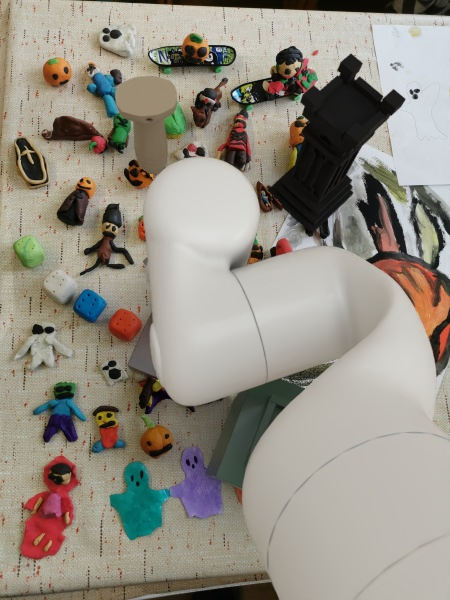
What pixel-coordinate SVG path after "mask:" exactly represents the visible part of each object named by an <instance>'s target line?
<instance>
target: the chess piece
mask: <svg viewBox="0 0 450 600" xmlns="http://www.w3.org/2000/svg"><path fill="white" fill-rule="evenodd" d="M363 65H364V63H363V62H362V61H361V60H360V59H359V58H357V57H356V55H354V54H352V53H349V54H348V55H347V56H346V57H344V59H342V60H341V61H340V63H339V64H338V67H337V72H338V73H339V75H338V74H337V75H336V76H334V78H332V79H331V80H330V81H329V82H328V83H327V84H325V86H323V87H322V88H321V89H319V88H318V87H317V86H315V85H312V86H311V87H309V88H308V89H307V90H306V91H305V92H304V93H303V94H302V96H301V98H300V104H301V105H302V106H304V107H303V110H302V112H301V116H302V117H303V118H304V119H305V120H306V121H308V123H307V124H306V125H305V126H304V127H302V129H301V131H300V134H301V135H302V136H303V141H302V143H301V145H300V149H299V151H298V154H297V157H296V159H295V162H294V165H293V166H291V168H289V169H288V170H287V171H286V172H285V173H284V174H283V175H282V176H281V177H279V179H278V180H276V181H275V182H274V183H273V184H272V185H271V186H270V187H269V188H268V189H267V190H268V191H269V192H270V193H271V194H272V195H274V197H275V198H276V199H278V201H279V202H280V203H281V204H282V206H281V207H282V208H283V209H284V211H286V212H287V213H288V214H289V215H290V216H292V218H293V219H294V220H295V221H297V222H298V223H299V224H300V225H301V226H302V227H303V228H305V230H307V232H309V233H310V234H311V235H312V234H313V233H314V232H316V231H317V230H318V229H319V228H320V227H321V226H322V225H323V224H324V223H325V222H326V221H327V220H328V219H329V218H330V217H331V216H332V215H334V213H336V212H337V210H338V209H340V208H341V207H342V206H343V205H344V204H345V203H346V202H347V201H348V200H349V199H350V198H351V197H352V196H353V195H354V193H355V192H354V191H353V190H352V189H353V187H354V185H352V184H351V183H352V182H353V179H351V178H350V176H349V175H348V173H349V171H350V169H351V167H352V165H353V164H354V162H355V160H356V158H357V157H358V155H359V153H360V151H361V149H362V148H363V146H364V145H366V144H367V142H368V141H370V140H371V139H372V138H373V137H374V135H375V134H376V131H377V130H378V129H379V128H380V127H381V126H382V125H383V124H385V123H386V122H387V121H388V120H389V119H390V117H392V116H393V115H395V113H397V112H398V110H400V108H402V107H403V105H404V103H405V101H406V100H407V98H406V97H404V96H403V95H402V94H401V93H399V91H397V90H396V89H394V88H393V89H391V90H390V91H389V92H388V93H387V94H386V95H385V96H384V95H383V94H382V93H381V92H380V91H378V90H377V89H376V88H375V87H373V86H372V85H371V84H370V83H368V82H367V81H366V80H365V79H364V78H363V77H361V76H360V75H359V76H358V77H357V74H358V73H360V71H361V69H362V67H363ZM356 77H357V78H356Z"/></svg>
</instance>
